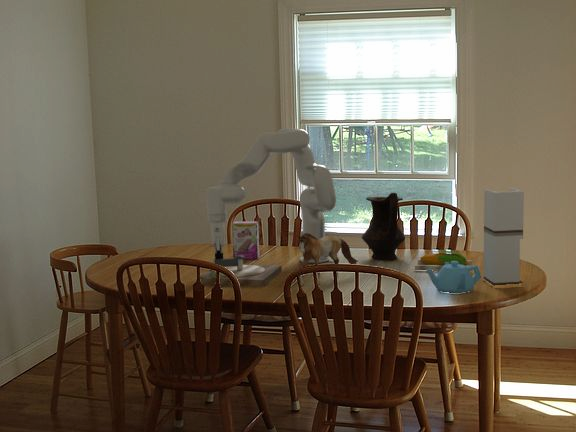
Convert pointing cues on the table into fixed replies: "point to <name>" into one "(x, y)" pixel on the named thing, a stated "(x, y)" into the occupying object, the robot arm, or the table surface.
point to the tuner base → (245, 275)
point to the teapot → (455, 277)
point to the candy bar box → (246, 239)
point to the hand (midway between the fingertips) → (219, 263)
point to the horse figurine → (323, 250)
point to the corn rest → (432, 266)
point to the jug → (384, 228)
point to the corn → (443, 258)
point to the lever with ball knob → (231, 262)
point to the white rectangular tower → (503, 235)
